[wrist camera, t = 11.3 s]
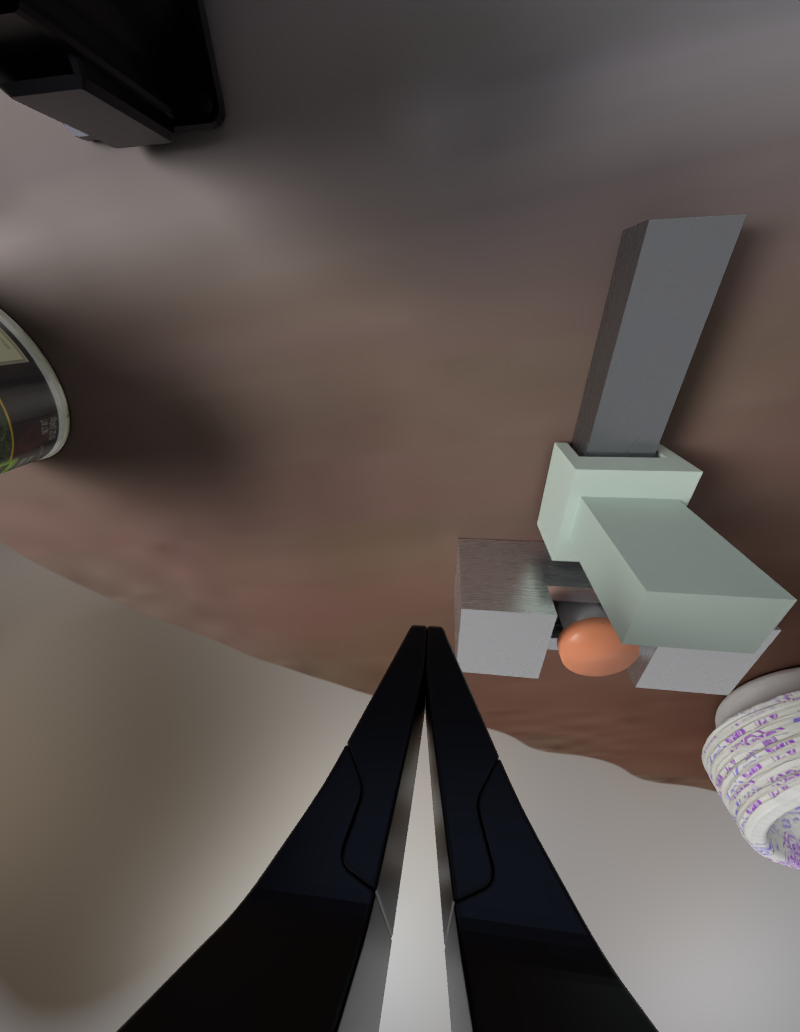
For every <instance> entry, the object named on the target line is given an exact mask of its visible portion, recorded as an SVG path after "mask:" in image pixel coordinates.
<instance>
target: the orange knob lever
mask: <svg viewBox="0 0 800 1032" xmlns="http://www.w3.org/2000/svg"><path fill="white" fill-rule="evenodd" d="M553 602H554V604H555V607H556V610H557V613H558V615H559V618H560V621H561V624H562V627H563V629H564V630H563V631H562V632H561V633H560V634H559V636H558V639H557V648H558V651H559V654H560V657H561V660H562V662H563V664H564V665H565V666H566V667H567V668H568V669H569V670H571V671H572V672H575V673H577V674H580V675H585V676H606V675H611V674H615V673H618V672H620V671H622V670H624V669H626V668H628V667H629V666H631V665H632V664H633V663H634V662H635V661H636V659H637V658H638V655H639V646H638V645H629V644H621V642H620V640H619V638H618V636H617V634H616V632H615V630H614V628H613V626H612V624H611V622H610V620H609V618H608V616H607V614H606V612H605V610H604V609H603V607H602V605H601V603H588V602H572V601H556V600H553Z"/></svg>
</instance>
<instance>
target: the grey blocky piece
mask: <svg viewBox="0 0 800 1032" xmlns="http://www.w3.org/2000/svg"><path fill="white" fill-rule="evenodd" d="M553 600H556V601H572V602H588V603H600V601H599V599H598V597H597V595H596V593H595V591H594V589H593V587H592V585H591V583H590V581H589V579H588V577H587V576H586V574H585V572H584V570H583V568H582V566H581V564H580V562H572V561H552V559H551V557H550V554H549V552H548V549H547V547H546V545H545V542H534V541H511V540H488V539H465V538H458V549H457V562H456V576H455V590H454V614H455V657H456V659H457V661H458V664H459V666H460V668H461V670H462V672H470V673H481V674H493V675H504V676H515V677H526V678H539V674H540V671H541V668H542V664H543V661H544V658H545V654H546V651H547V649H552V650H558V648H557V639H558V636H559V634H560V633H561V632H562V631H563V630H564V629H563V627H562V624H561V621H560V618H559V615H558V613H557V610H556V607H555V604H554V602H553ZM780 632H781V629H780V628H779V627H778V626H776V627H775V629H774V630H773V631H772V632H771V634H770V635H769V636H768V637H767V639H766V640H765V641H764V642H763V644H762V645H761V646H760V647H759V648H758V650H757V651H756V652H755V653H754V654H749V653H736V652H722V651H709V650H696V649H683V648H669V647H656V646H643V645H638V646H639V655H638V658H637V659H636V661H635V662H634V663H633V664H632V665H631V666H629V667H628V668H626V669H627V671H628V673H629V675H630V677H631V679H632V681H633V684H634V686H635V687H639V688H651V689H662V690H673V691H685V692H696V693H707V694H719V695H729V694H730V692H731V691H732V690H733V689H734V688H735V686H736V685H737V684H738V683H739V681H740V680H741V679H742V678H743V677H744V675H745V674H746V673H747V672H748V671H749V669H750V668H751V667H752V666H753V664H754V663H755V662H756V661H757V660H758V658H759V657H760V656H761V655H762V653H763V652H764V651H765V650H766V649H767V647H768V646H769V645H770V644H771V643H772V641H773V640H774V639H775V638H776V636H777V635H778V634H779V633H780Z"/></svg>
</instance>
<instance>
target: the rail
mask: <svg viewBox="0 0 800 1032" xmlns="http://www.w3.org/2000/svg"><path fill="white" fill-rule="evenodd" d="M746 215H747V214H736V215H719V216H702V217H686V218H669V219H652V220H647V221H645V222H643V223H640V224H638V225H636V226H633V227H631V228H629V229H626V230H624V232H623V236H622V240H621V244H620V248H619V252H618V256H617V260H616V264H615V268H614V273H613V277H612V281H611V285H610V289H609V293H608V297H607V301H606V305H605V310H604V314H603V318H602V322H601V326H600V330H599V334H598V338H597V342H596V347H595V351H594V355H593V359H592V363H591V367H590V371H589V375H588V379H587V384H586V388H585V392H584V396H583V400H582V404H581V408H580V412H579V416H578V421H577V425H576V429H575V433H574V437H573V441H572V445H571V448H572V449H573V450H574V451H575V452H576V454H577V455H578V456H579V457H642V458H654V456H655V453H656V450H657V448H658V445H659V443H660V440H661V437H662V435H663V432H664V430H665V427H666V424H667V422H668V419H669V416H670V414H671V411H672V409H673V406H674V403H675V401H676V398H677V396H678V393H679V390H680V388H681V385H682V382H683V380H684V377H685V375H686V372H687V369H688V367H689V364H690V362H691V359H692V356H693V354H694V351H695V348H696V346H697V343H698V341H699V338H700V335H701V333H702V330H703V328H704V325H705V322H706V320H707V317H708V314H709V312H710V309H711V307H712V304H713V301H714V299H715V296H716V294H717V291H718V288H719V286H720V283H721V280H722V278H723V275H724V273H725V270H726V267H727V265H728V262H729V260H730V257H731V254H732V252H733V249H734V246H735V244H736V241H737V239H738V236H739V233H740V231H741V228H742V226H743V223H744V220H745V218H746Z"/></svg>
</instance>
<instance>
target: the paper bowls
mask: <svg viewBox="0 0 800 1032" xmlns="http://www.w3.org/2000/svg"><path fill="white" fill-rule="evenodd" d="M715 724H716V729H715V730H714V731H713V732H712V733H711V734H710V736H709V737H708V738H707V741H706V743H705V744H704V747H703V750H702V762H703V765H704V768H705V769H706V771H707V773H708V775H709V778H710V779H711V781H712V783H713V784H714V786H715V788H716V790H717V792H718V794H719V795H720V797H721V799H722V801H723V803H724V804H725V805H726V807H727V809H728V810H729V812H730V813H731V814H732V817H733V818H734V820H735V822H736V824H737V825H738V827H739V829H740V831H741V834H742V836H743V837H744V839H745V840H746V841H747V842H748V843H749V844H750V846H751V847H752V848H753V849H754V850H755V851H756V852H758V853H759V854H761V855H762V856H763V857H765V858H767V859H769V860H771V861H774V862H776V863H779V864H781V865H784V866H787V867H791V868H795V869H799V870H800V667H797V668H791V669H786V670H781V671H777V672H773V673H770V674H767V675H764V676H761V677H758V678H756V679H754V680H751V681H749V682H747V683H745V684H743V685H742V686H740V687H738V688H737V689H735V690H734V691H732V692H731V693H730V694H729V695H728V696H727V697H726V698H725V699H724V700H723V701H722V702H721V704H720V705H719V707H718V709H717V712H716V717H715Z"/></svg>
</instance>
